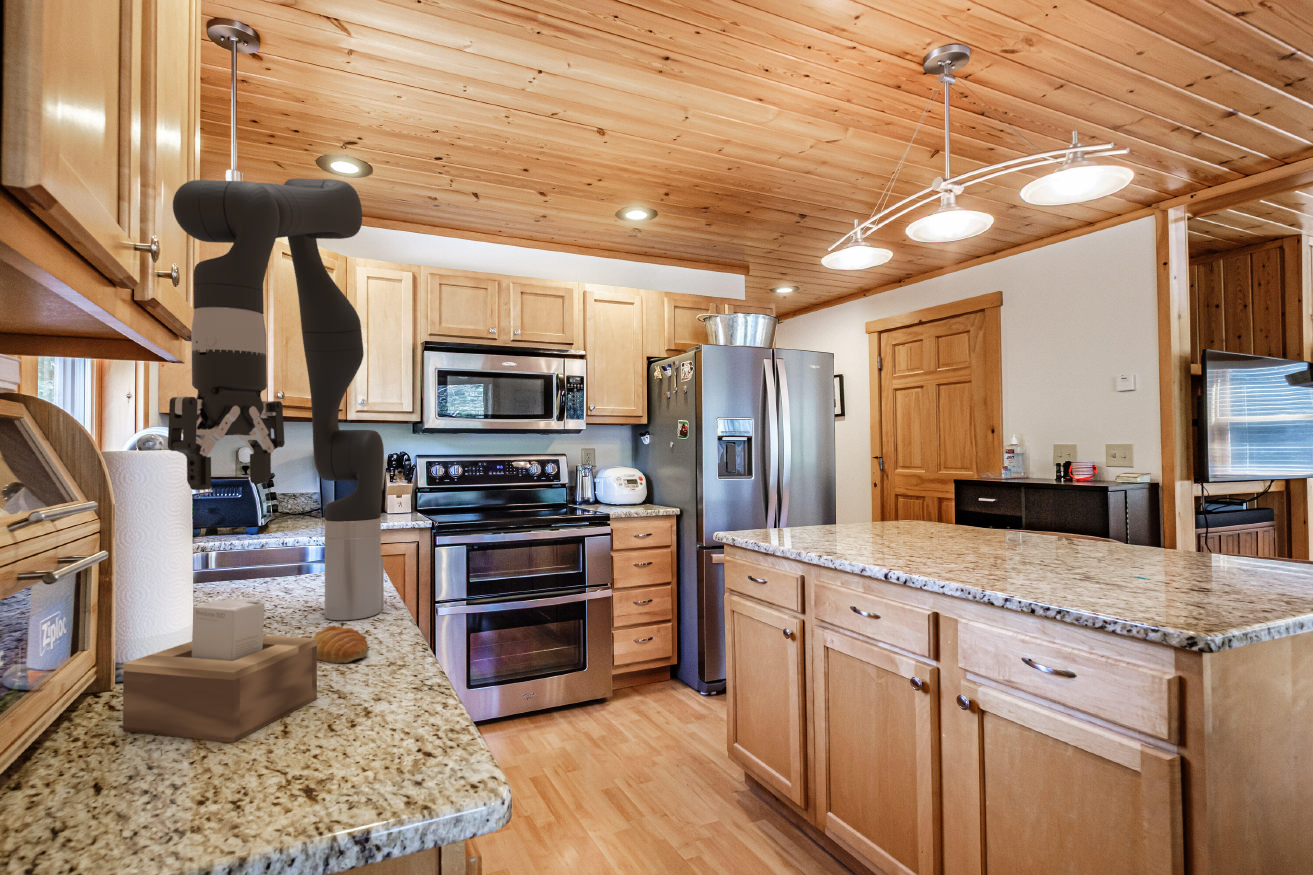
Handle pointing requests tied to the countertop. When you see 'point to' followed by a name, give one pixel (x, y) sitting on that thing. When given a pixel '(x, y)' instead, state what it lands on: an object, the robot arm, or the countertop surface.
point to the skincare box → (227, 629)
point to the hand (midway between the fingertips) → (231, 486)
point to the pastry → (340, 644)
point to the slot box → (218, 690)
